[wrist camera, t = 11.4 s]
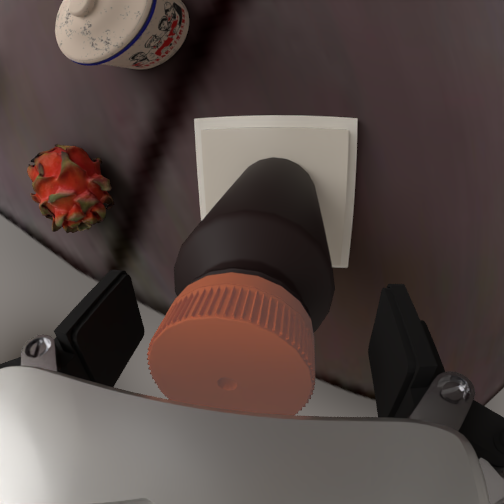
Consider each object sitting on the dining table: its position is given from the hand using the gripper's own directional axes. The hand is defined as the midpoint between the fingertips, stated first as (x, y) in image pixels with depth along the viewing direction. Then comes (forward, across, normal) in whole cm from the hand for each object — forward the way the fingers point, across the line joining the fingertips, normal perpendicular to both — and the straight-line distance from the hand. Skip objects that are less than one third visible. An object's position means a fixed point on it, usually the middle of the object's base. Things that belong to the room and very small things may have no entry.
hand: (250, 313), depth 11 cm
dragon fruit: (+20, +22, -1) cm, 29 cm away
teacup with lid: (+20, +12, -17) cm, 29 cm away
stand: (+20, +1, +1) cm, 20 cm away
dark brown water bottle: (+17, 0, +1) cm, 17 cm away
